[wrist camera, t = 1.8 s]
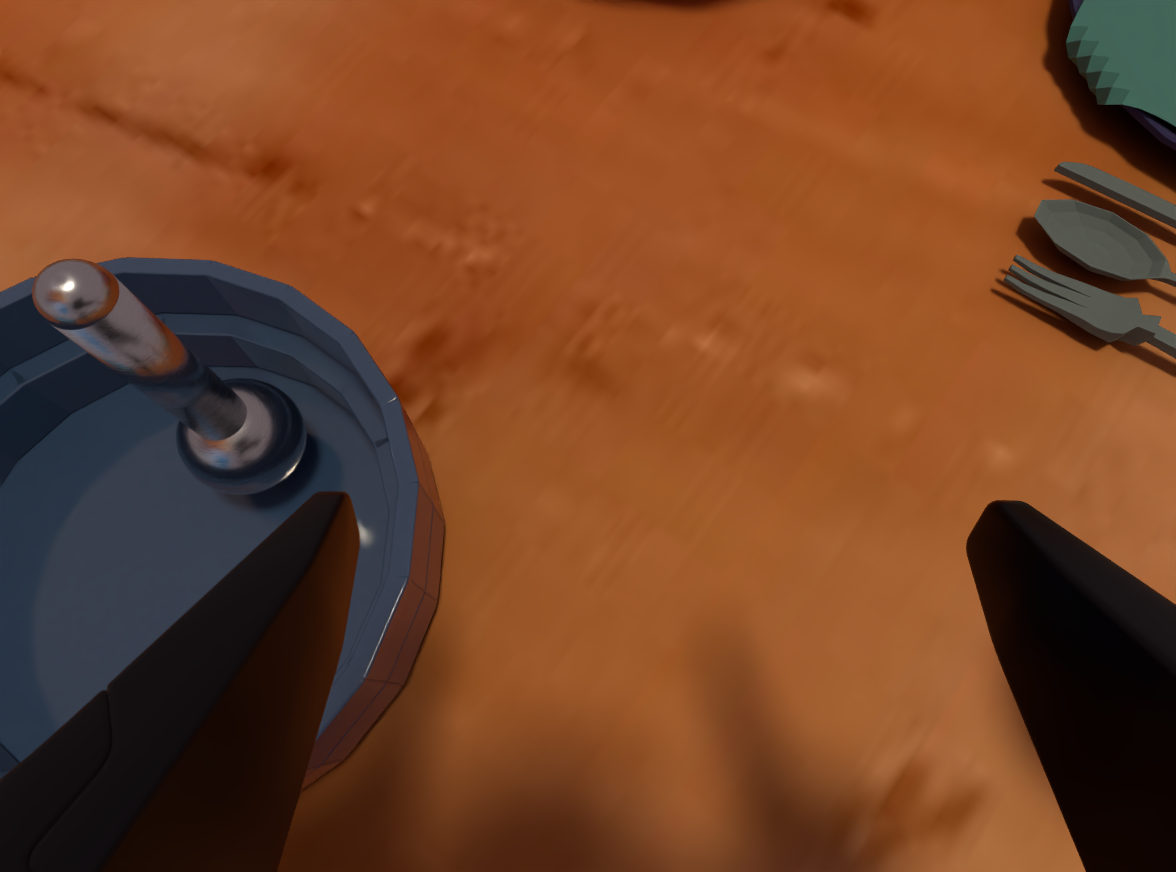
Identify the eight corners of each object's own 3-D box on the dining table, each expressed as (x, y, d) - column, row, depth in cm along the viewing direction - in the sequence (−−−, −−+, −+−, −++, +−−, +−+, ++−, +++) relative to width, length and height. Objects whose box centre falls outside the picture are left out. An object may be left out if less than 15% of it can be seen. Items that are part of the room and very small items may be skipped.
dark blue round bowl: (172, 982, 20) (36, 1082, 15) (-189, 612, 23) (-405, 586, 18) (543, 514, 25) (540, 466, 20) (210, 266, 28) (133, 170, 23)
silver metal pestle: (270, 529, 23) (45, 394, 13) (186, 469, 24) (-90, 296, 14) (344, 442, 25) (192, 256, 14) (263, 387, 25) (62, 171, 15)
